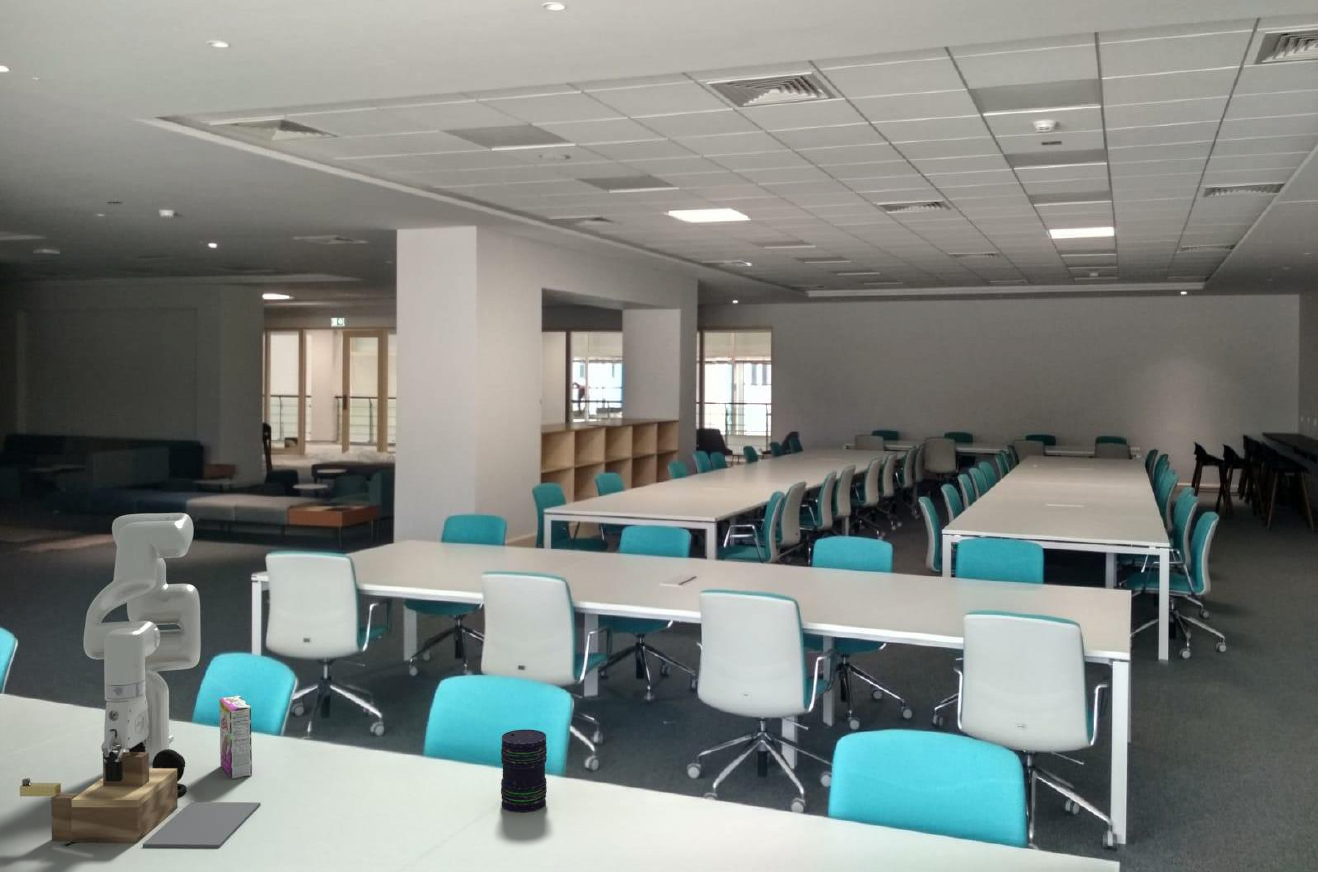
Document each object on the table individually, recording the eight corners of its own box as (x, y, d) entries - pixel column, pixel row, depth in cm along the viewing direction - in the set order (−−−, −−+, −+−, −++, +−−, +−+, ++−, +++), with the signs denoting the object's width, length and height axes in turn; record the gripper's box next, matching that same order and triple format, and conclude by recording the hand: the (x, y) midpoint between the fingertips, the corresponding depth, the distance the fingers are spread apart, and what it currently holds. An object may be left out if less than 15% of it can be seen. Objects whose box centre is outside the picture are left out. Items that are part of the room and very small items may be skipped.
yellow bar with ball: (25, 792, 219) (25, 777, 219) (60, 793, 219) (60, 778, 219) (19, 796, 217) (19, 781, 217) (55, 796, 217) (55, 781, 217)
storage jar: (555, 800, 241) (555, 733, 240) (531, 816, 232) (531, 746, 231) (516, 793, 245) (516, 727, 244) (491, 808, 236) (491, 739, 235)
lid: (116, 775, 234) (115, 740, 234) (177, 775, 234) (176, 740, 234) (71, 807, 216) (71, 769, 216) (137, 807, 216) (137, 770, 216)
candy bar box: (218, 766, 261) (218, 698, 260) (240, 762, 263) (240, 694, 263) (230, 780, 251) (229, 709, 251) (252, 776, 254) (252, 706, 254)
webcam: (195, 790, 245) (194, 746, 244) (170, 802, 238) (169, 757, 237) (167, 786, 247) (166, 742, 247) (141, 798, 240) (141, 753, 240)
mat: (190, 804, 236) (190, 802, 236) (260, 805, 236) (260, 802, 236) (142, 847, 214) (142, 844, 214) (219, 847, 214) (219, 844, 214)
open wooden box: (96, 807, 234) (96, 768, 234) (177, 808, 234) (177, 768, 234) (49, 842, 216) (49, 799, 216) (137, 842, 216) (137, 800, 216)
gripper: (122, 701, 216) (123, 787, 216) (162, 679, 233) (163, 759, 233) (84, 701, 216) (85, 787, 216) (127, 679, 233) (128, 759, 233)
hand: (126, 772), depth 225 cm, fingers open, 9 cm apart
